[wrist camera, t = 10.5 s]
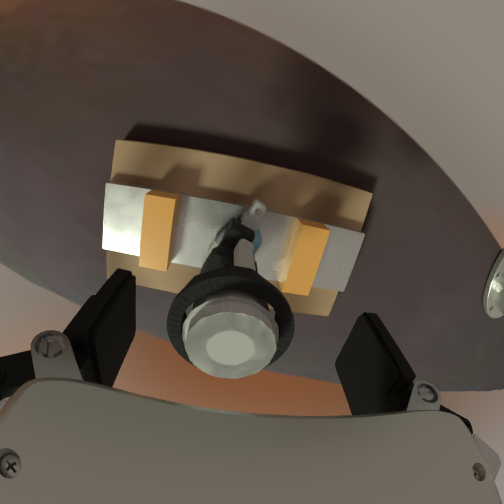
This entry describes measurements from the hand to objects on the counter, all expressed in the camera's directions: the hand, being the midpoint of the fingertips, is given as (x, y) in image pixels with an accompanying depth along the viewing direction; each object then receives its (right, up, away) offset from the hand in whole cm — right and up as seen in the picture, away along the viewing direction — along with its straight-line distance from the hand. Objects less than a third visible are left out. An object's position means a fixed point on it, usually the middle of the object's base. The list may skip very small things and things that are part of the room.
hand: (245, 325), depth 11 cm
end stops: (-1, +4, +8) cm, 9 cm away
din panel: (-1, +5, +11) cm, 12 cm away
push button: (-1, +4, +9) cm, 10 cm away
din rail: (-1, +4, +9) cm, 10 cm away
